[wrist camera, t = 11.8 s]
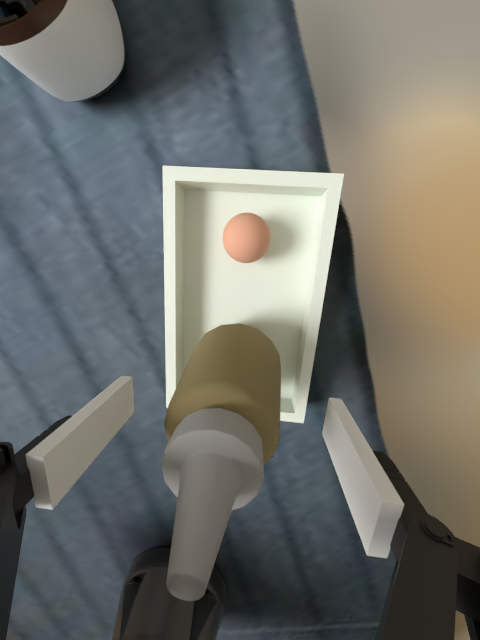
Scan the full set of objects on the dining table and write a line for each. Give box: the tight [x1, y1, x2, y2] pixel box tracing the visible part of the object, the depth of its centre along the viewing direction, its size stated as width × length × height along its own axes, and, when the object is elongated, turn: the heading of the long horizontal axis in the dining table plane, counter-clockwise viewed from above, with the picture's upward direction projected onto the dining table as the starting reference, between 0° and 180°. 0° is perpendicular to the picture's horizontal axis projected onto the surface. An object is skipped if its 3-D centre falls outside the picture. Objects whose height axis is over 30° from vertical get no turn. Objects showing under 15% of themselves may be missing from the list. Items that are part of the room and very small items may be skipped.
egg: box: [223, 213, 270, 263], centre depth 19 cm, size 4×4×4 cm
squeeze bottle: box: [161, 323, 281, 601], centre depth 15 cm, size 8×8×18 cm
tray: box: [163, 166, 344, 423], centre depth 22 cm, size 22×14×3 cm, turn 176°
